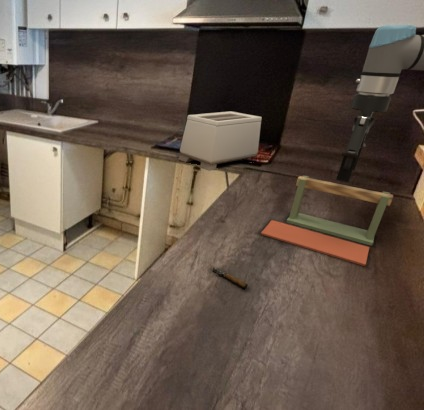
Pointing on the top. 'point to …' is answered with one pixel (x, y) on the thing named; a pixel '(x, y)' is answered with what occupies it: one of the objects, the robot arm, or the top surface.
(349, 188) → the hanger bar
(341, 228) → the rack
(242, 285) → the can opener
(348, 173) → the robot arm
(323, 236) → the mat
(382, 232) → the top surface
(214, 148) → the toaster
